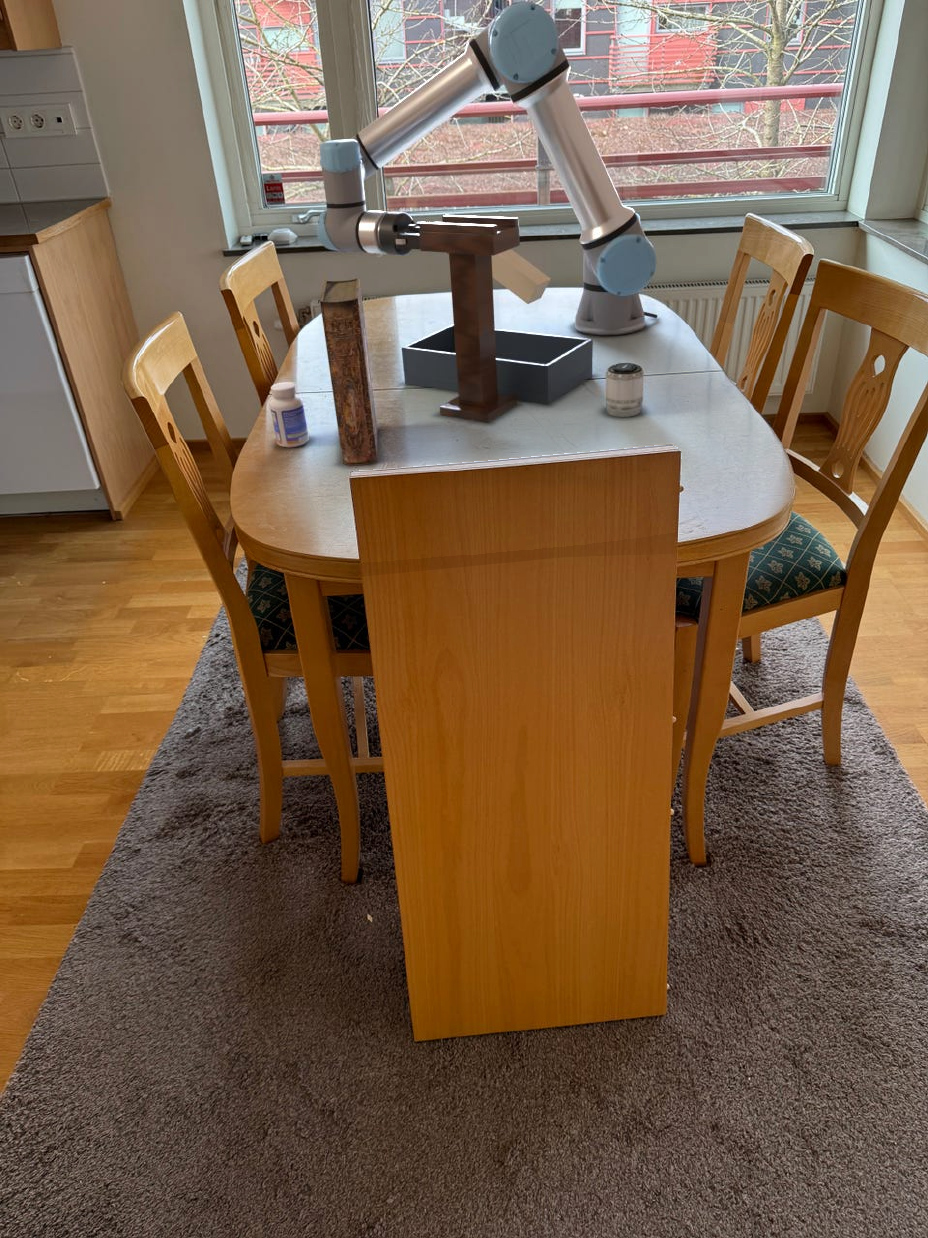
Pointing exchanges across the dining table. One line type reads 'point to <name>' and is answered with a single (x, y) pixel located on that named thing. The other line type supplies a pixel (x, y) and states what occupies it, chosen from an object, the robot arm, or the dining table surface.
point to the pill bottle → (288, 415)
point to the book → (350, 370)
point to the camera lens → (624, 389)
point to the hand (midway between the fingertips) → (493, 239)
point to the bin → (506, 363)
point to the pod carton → (519, 276)
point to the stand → (473, 307)
